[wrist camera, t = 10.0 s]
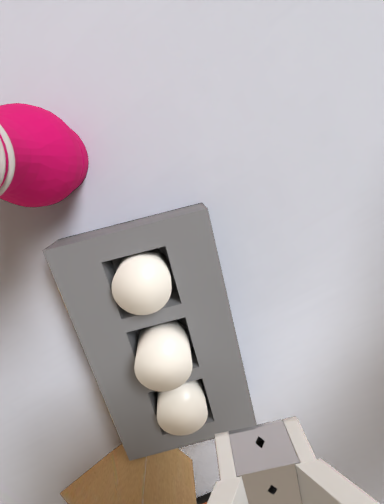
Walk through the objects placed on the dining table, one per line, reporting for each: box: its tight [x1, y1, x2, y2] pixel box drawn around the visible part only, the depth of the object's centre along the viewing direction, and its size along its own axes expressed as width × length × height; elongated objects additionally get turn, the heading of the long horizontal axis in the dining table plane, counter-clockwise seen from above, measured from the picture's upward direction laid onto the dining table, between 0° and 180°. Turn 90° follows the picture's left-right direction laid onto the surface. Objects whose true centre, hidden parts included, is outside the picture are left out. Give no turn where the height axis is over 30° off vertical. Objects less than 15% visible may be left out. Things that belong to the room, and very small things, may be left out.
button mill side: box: [112, 249, 172, 315], centre depth 27 cm, size 5×5×4 cm
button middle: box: [134, 320, 192, 392], centre depth 28 cm, size 5×5×4 cm
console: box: [43, 203, 256, 461], centre depth 30 cm, size 15×24×4 cm, turn 14°
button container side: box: [157, 379, 208, 436], centre depth 31 cm, size 5×5×4 cm
